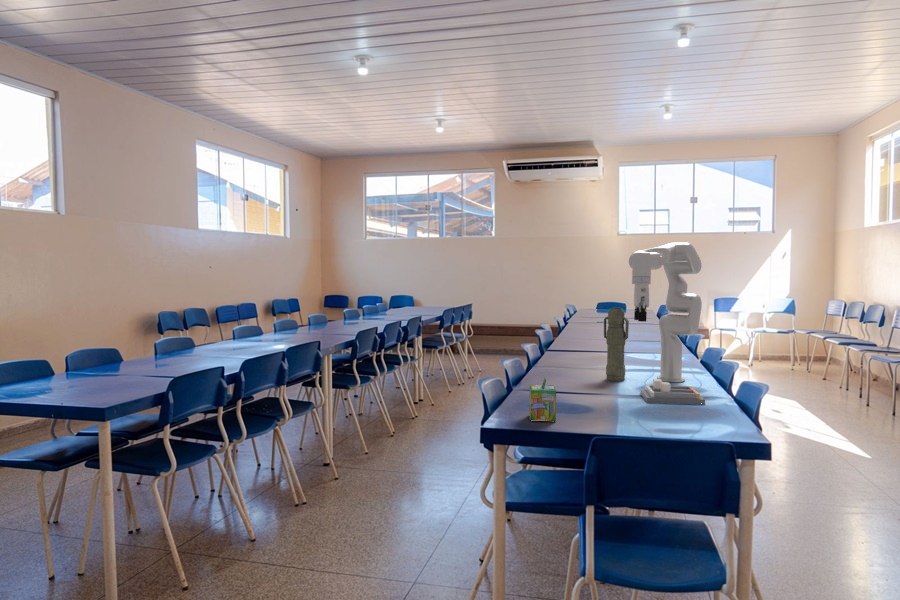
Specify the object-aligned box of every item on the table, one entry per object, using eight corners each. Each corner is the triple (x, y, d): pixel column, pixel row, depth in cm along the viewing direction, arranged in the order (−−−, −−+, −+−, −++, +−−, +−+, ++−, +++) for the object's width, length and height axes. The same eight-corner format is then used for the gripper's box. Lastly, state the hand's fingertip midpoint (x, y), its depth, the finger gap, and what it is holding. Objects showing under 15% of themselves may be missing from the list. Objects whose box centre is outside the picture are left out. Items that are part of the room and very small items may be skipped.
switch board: (646, 402, 225) (646, 392, 224) (640, 393, 240) (640, 384, 240) (705, 404, 221) (705, 394, 221) (694, 395, 236) (695, 386, 236)
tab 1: (654, 392, 232) (654, 381, 232) (652, 390, 237) (652, 379, 236) (662, 392, 232) (662, 381, 232) (660, 390, 236) (660, 379, 236)
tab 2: (662, 395, 226) (662, 384, 226) (660, 393, 230) (660, 382, 230) (670, 396, 226) (670, 384, 225) (668, 393, 230) (668, 382, 230)
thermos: (625, 382, 264) (626, 308, 262) (600, 380, 270) (601, 307, 268) (630, 379, 272) (631, 307, 270) (606, 377, 278) (606, 306, 276)
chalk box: (528, 415, 207) (528, 375, 206) (554, 415, 206) (554, 376, 205) (529, 422, 197) (529, 380, 197) (556, 422, 196) (556, 381, 196)
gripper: (654, 280, 230) (653, 322, 231) (646, 281, 247) (645, 319, 248) (635, 280, 231) (634, 321, 232) (629, 280, 249) (627, 319, 249)
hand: (640, 320), depth 240 cm, fingers open, 9 cm apart
